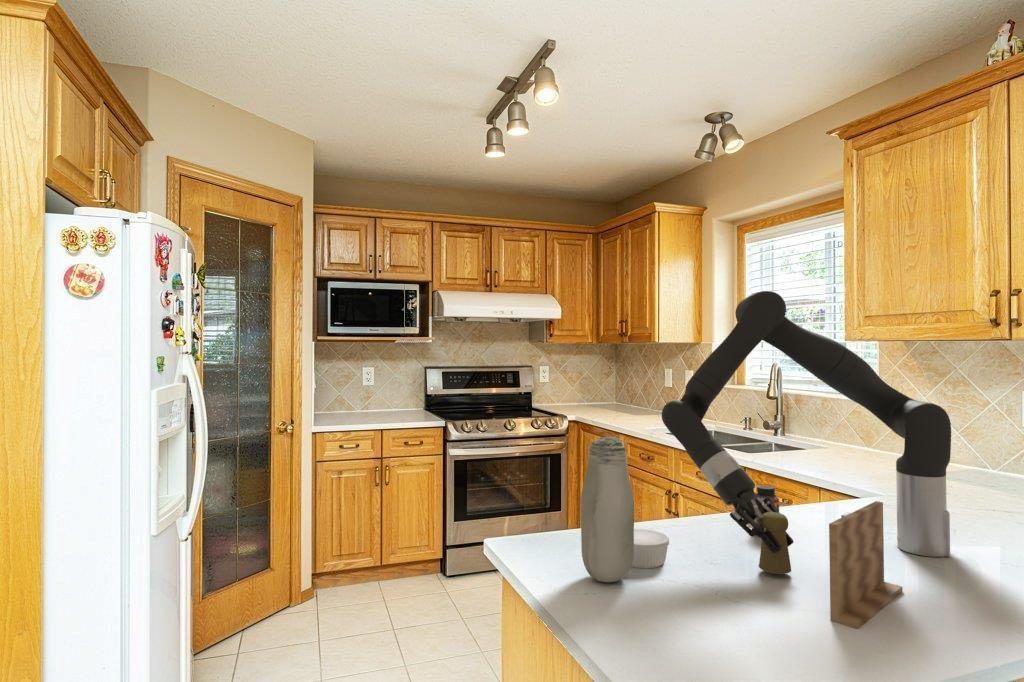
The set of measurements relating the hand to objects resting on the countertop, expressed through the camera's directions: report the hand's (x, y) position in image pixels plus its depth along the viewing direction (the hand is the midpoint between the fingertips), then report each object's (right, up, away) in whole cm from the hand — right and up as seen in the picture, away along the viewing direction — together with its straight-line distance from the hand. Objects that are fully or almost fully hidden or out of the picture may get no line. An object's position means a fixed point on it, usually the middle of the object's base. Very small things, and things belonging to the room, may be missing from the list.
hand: (783, 547), depth 118 cm
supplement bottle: (+8, -6, +28) cm, 29 cm away
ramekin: (-26, -6, +9) cm, 29 cm away
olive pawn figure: (-1, -5, +1) cm, 5 cm away
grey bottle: (-35, -6, -1) cm, 36 cm away
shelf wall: (+9, -5, -14) cm, 17 cm away
